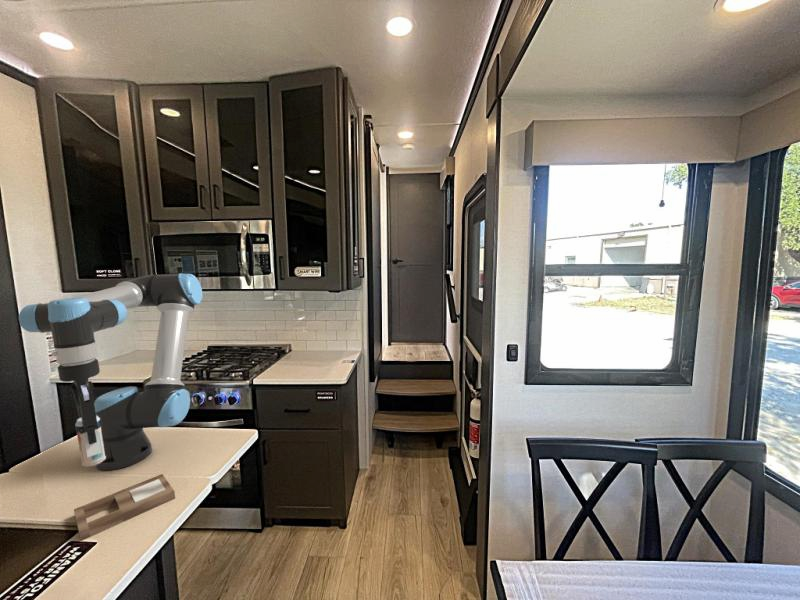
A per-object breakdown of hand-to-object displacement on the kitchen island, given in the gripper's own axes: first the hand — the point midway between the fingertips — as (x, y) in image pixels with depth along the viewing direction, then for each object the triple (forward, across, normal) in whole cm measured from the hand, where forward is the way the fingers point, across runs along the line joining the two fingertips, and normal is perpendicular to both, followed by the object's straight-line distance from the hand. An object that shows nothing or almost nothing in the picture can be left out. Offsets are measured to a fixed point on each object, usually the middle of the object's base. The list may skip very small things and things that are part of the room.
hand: (92, 450), depth 93 cm
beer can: (+4, 0, 0) cm, 4 cm away
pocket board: (+19, 0, +5) cm, 19 cm away
